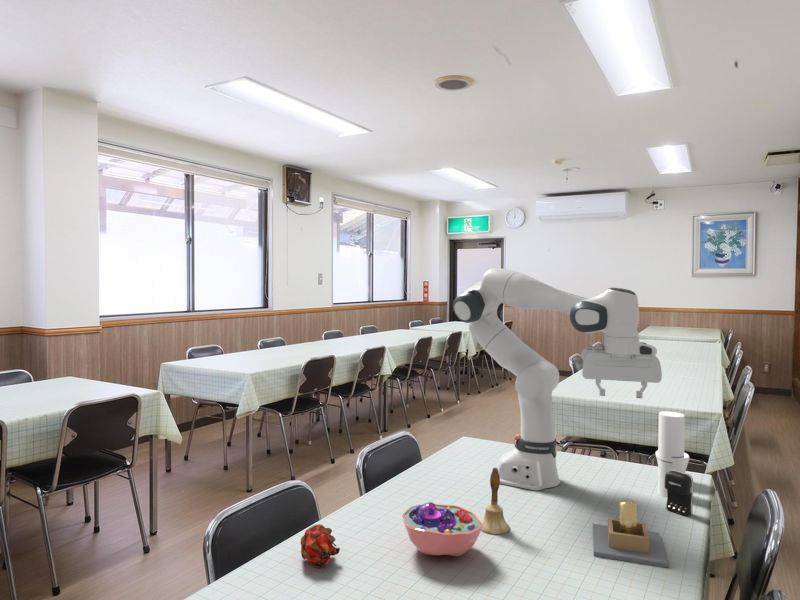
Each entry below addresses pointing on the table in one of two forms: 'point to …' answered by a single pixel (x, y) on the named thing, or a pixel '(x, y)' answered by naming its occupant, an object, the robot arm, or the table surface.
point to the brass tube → (628, 517)
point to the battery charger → (679, 492)
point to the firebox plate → (628, 544)
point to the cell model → (441, 528)
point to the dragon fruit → (318, 545)
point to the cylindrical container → (670, 446)
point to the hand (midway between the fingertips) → (620, 396)
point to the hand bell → (494, 510)
